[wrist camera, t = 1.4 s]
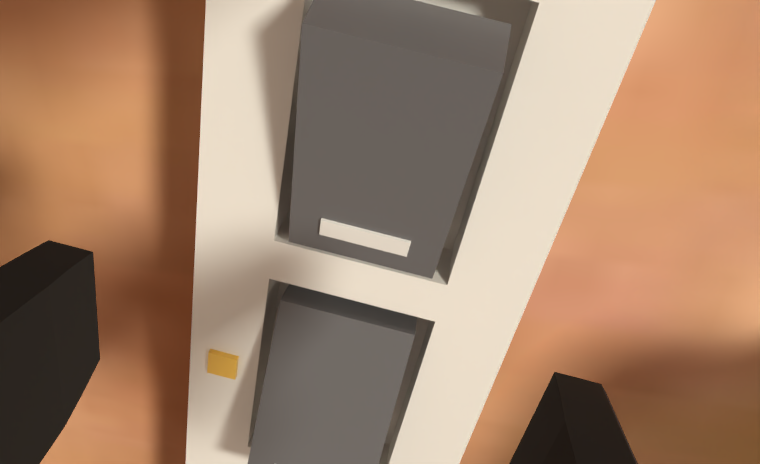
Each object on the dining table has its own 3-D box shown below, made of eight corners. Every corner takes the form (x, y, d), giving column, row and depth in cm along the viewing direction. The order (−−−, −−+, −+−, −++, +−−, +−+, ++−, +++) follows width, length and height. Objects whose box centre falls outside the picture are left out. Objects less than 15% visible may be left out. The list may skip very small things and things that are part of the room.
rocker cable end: (511, 24, 13) (503, 76, 12) (441, 232, 17) (431, 281, 16) (323, -23, 13) (301, 25, 12) (305, 197, 17) (287, 243, 17)
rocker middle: (418, 309, 19) (414, 336, 17) (368, 487, 21) (362, 524, 20) (292, 276, 19) (279, 301, 18) (256, 457, 21) (241, 491, 20)
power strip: (782, -434, 12) (864, -485, 9) (401, 545, 29) (387, 633, 27) (302, -544, 12) (229, -628, 9) (212, 494, 30) (179, 577, 27)
